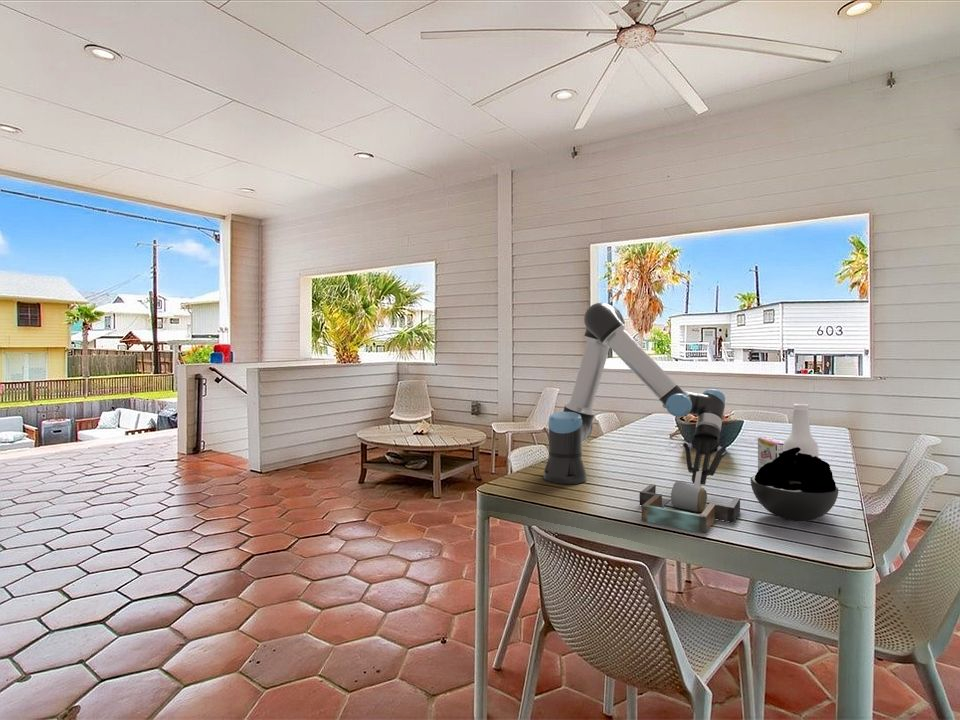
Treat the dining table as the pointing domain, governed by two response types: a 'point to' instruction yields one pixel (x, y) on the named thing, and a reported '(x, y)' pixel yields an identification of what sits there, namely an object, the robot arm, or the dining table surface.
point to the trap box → (681, 519)
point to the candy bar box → (768, 450)
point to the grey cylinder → (688, 497)
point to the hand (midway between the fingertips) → (696, 492)
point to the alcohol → (801, 432)
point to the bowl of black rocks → (795, 486)
